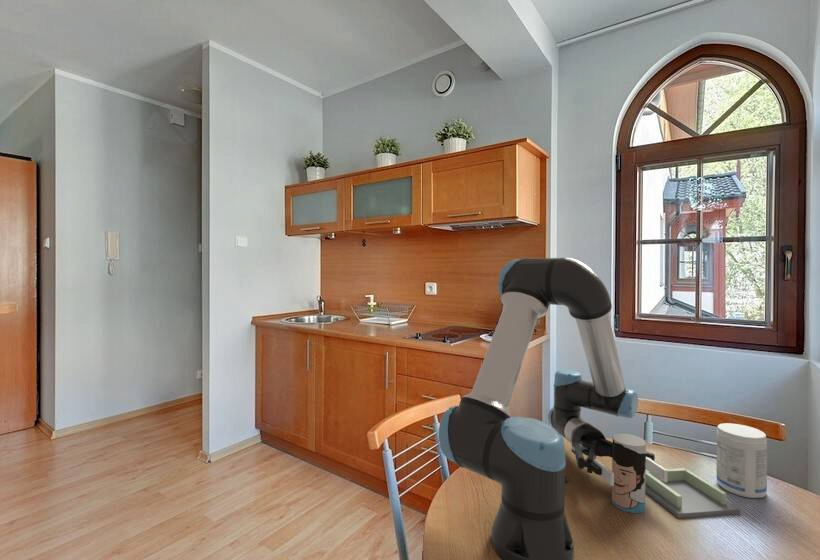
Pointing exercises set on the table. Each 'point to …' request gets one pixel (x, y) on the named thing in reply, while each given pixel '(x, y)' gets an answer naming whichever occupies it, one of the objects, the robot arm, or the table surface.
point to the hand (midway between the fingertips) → (639, 477)
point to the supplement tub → (742, 460)
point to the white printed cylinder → (629, 472)
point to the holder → (688, 495)
